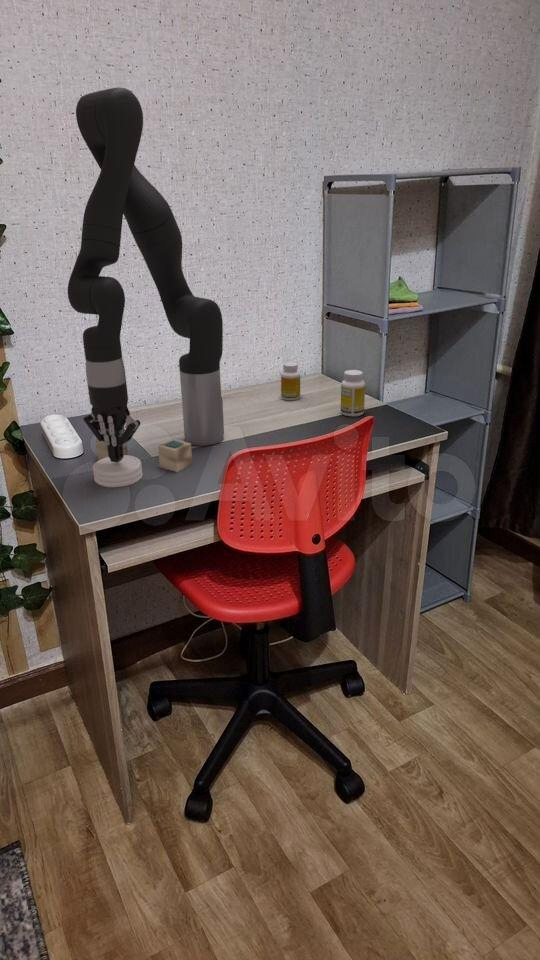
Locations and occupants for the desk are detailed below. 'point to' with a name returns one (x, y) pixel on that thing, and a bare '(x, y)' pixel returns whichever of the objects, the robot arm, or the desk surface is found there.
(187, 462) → the marked block
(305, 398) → the desk surface
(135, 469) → the white round container
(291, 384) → the supplement bottle
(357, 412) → the pill bottle
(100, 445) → the marked block
